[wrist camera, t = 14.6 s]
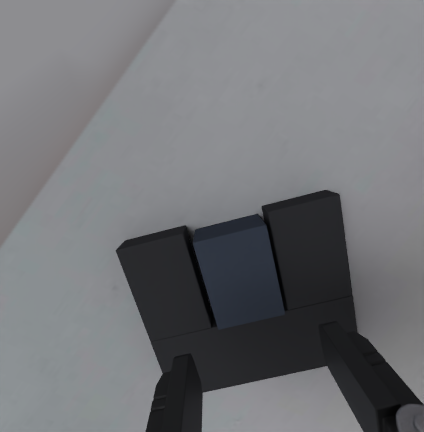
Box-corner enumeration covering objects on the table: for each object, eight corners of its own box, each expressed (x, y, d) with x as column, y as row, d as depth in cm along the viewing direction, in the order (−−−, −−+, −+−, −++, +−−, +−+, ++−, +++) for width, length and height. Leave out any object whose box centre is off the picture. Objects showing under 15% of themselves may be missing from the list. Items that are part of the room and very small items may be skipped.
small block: (194, 229, 19) (192, 243, 16) (257, 213, 19) (266, 224, 16) (216, 305, 21) (218, 330, 18) (274, 292, 20) (285, 314, 18)
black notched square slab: (124, 240, 19) (115, 250, 17) (326, 189, 18) (340, 193, 16) (175, 378, 23) (172, 399, 21) (347, 340, 22) (361, 358, 20)
